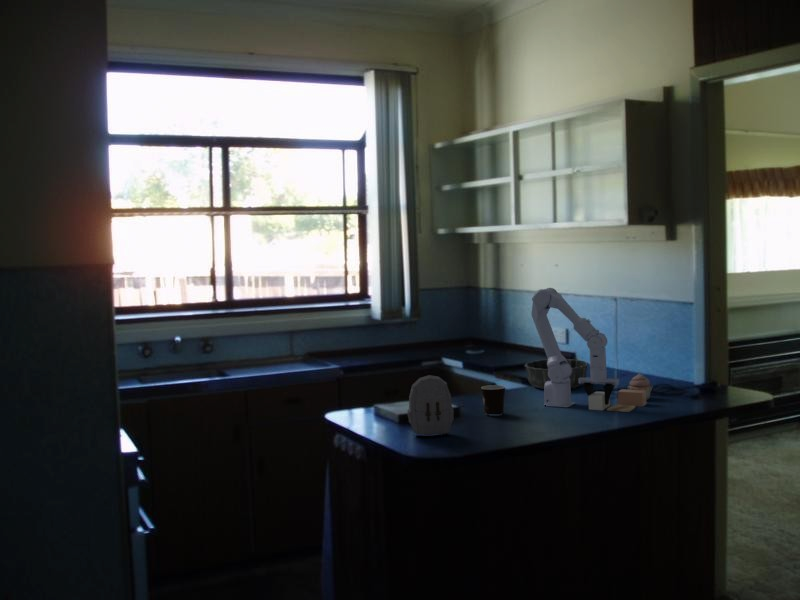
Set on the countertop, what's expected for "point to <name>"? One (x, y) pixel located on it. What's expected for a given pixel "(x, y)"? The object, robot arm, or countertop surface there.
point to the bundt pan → (539, 372)
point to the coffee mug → (493, 398)
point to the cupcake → (640, 384)
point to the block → (597, 401)
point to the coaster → (621, 408)
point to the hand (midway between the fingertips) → (599, 403)
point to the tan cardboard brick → (632, 397)
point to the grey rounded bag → (430, 406)
